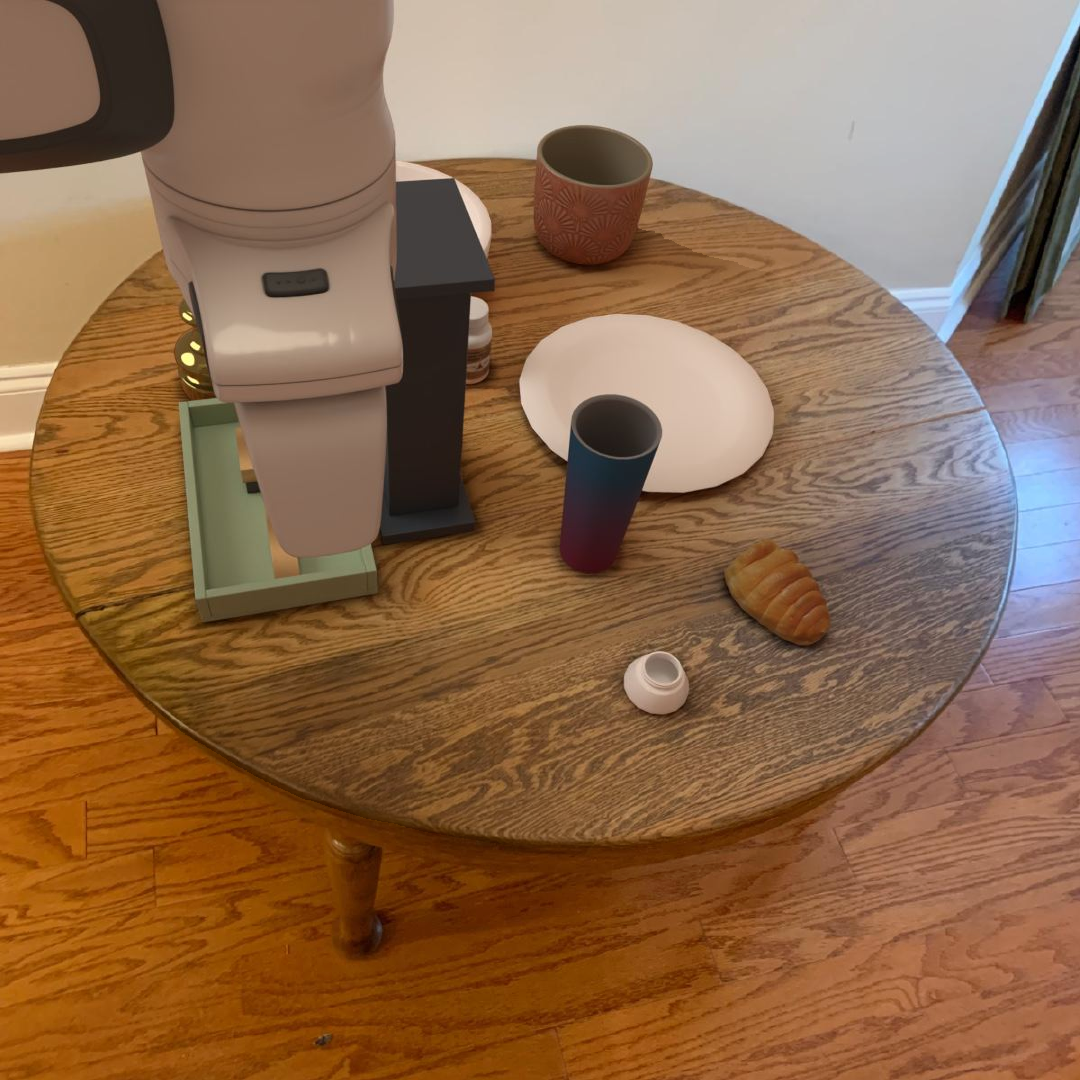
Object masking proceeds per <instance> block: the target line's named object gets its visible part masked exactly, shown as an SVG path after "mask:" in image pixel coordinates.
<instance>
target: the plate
mask: <svg viewBox="0 0 1080 1080" xmlns="http://www.w3.org/2000/svg"><path fill="white" fill-rule="evenodd" d="M518 383H519V392H520V393H519V397H520V406H521V408H522V410H523V413H524V415H525V417H526V419H527V421H528V424H529V426H530V428H531V430H532V431H533V432H534V433H535V434H536V435H537V437H538V438H539V440H541V441H542V443H544V445H545V446H546V447H547V448H548V450H549V451H550V452H551V453H552V454H554V455H555V456H557V457H558V458H560V459H561V460H562V461H564V462H565V463H567V460H568V450H569V439H570V428H571V419H572V415H573V412H574V410H575V409H576V408H577V406H578V405H579V404H581V403H582V402H583V401H585V400H587V399H589V398H591V397H594V396H598V395H605V394H616V395H622V396H627V397H630V398H633V399H635V400H637V401H640V402H641V403H643V404H645V405H646V406H648V407H649V408H650V409H651V410H652V411H653V412H654V413H655V414H656V416H657V417H658V419H659V421H660V423H661V427H662V438H661V441H660V444H659V446H658V449H657V452H656V454H655V457H654V460H653V462H652V465H651V468H650V470H649V473H648V476H647V478H646V481H645V484H644V486H643V489H642V492H641V493H646V494H670V495H671V494H672V495H673V494H674V495H675V494H676V495H677V494H678V495H679V494H680V495H684V494H689V493H694V492H701V491H705V490H709V489H715V488H718V487H720V486H722V485H725V484H726V483H729V482H731V481H732V480H735V479H737V478H739V477H741V476H744V474H746V472H747V471H748V470H750V468H752V467H753V466H754V465H755V464H756V463H758V461H759V460H761V458H763V455H764V454H765V452H766V449H767V448H768V445H769V443H770V442H771V439H772V437H773V436H774V435H773V434H774V421H775V410H774V407H773V403H772V400H771V396H770V393H769V390H768V388H767V386H766V385H765V383H764V382H763V380H762V378H760V376H759V374H758V373H757V371H756V370H755V368H754V367H753V366H752V365H751V364H750V363H748V361H747V360H745V359H744V357H742V356H741V355H740V354H739V353H738V352H737V351H736V350H735V349H733V347H730V346H729V345H727V344H725V342H722V341H721V340H719V339H718V338H716V337H714V336H713V335H711V334H710V333H707V332H705V331H703V330H700V329H698V328H695V327H693V326H690V325H687V324H685V323H682V322H680V321H676V320H672V319H667V318H663V317H658V316H653V315H648V314H628V313H613V314H612V313H611V314H606V315H598V316H591V317H586V318H583V319H580V320H576V321H574V322H571V323H569V324H566V325H563V326H561V327H559V328H558V329H556V330H555V331H553V332H552V333H549V335H547V336H545V337H544V338H542V339H541V340H540V341H539V342H538V344H537V345H536V346H535V347H534V348H533V350H532V351H531V352H530V353H529V354H528V356H527V357H526V358H525V361H524V365H523V368H522V371H521V374H520V377H519V379H518Z"/></svg>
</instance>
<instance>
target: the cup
mask: <svg viewBox="0 0 1080 1080" xmlns="http://www.w3.org/2000/svg"><path fill="white" fill-rule="evenodd" d="M661 438H662V427H661V423H660V421H659V419H658V417H657V416H656V414H655V413H654V412H653V411H652V410H651V409H650V408H649V407H648V406H646V405H645V404H643V403H641V402H640V401H637V400H635V399H633V398H630V397H627V396H622V395H616V394H605V395H598V396H594V397H591V398H589V399H587V400H585V401H583V402H582V403H581V404H579V405H578V406H577V408H576V409H575V410H574V412H573V415H572V419H571V428H570V439H569V450H568V460H567V462H566V472H565V483H564V494H563V505H562V516H561V526H560V535H559V537H560V538H559V548H558V549H559V554H560V557H561V559H562V560H563V562H564V563H565V564H566V565H568V567H570V568H571V569H573V570H575V571H576V572H580V573H583V574H589V575H593V574H594V575H595V574H600V573H604V572H606V571H607V570H609V569H611V567H613V566H614V564H615V562H616V561H617V558H618V555H619V553H620V551H621V547H622V545H623V543H624V540H625V537H626V534H627V532H628V530H629V527H630V524H631V521H632V518H633V515H634V512H635V510H636V508H637V505H638V502H639V499H640V497H641V495H642V493H643V492H642V489H643V486H644V484H645V481H646V478H647V476H648V473H649V470H650V468H651V465H652V462H653V460H654V457H655V454H656V452H657V449H658V446H659V444H660V441H661Z"/></svg>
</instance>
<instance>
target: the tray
mask: <svg viewBox="0 0 1080 1080" xmlns="http://www.w3.org/2000/svg"><path fill="white" fill-rule="evenodd" d="M178 413H179V414H178V415H179V426H180V437H181V448H182V449H181V450H182V462H183V471H184V481H185V495H186V496H185V497H186V506H187V507H186V509H187V518H188V530H189V541H190V542H189V544H190V553H191V554H190V555H191V564H192V576H193V577H192V578H193V588H194V599H195V603H196V606H197V609H198V613H199V616H200V620H201V623H208V622H215V621H221V620H227V619H234V618H238V617H244V616H250V615H251V616H252V615H255V614H262V613H268V612H274V611H275V612H276V611H279V610H280V611H281V610H286V609H292V608H298V607H299V608H300V607H304V606H311V605H315V604H316V605H317V604H322V603H328V602H329V603H330V602H335V601H341V600H345V599H346V600H347V599H351V598H358V597H365V596H371V595H376V594H379V587H378V586H379V584H378V582H379V581H378V568H377V564H376V559H375V555H374V551H373V546H372V543H371V544H370V545H368V546H366V547H364V548H361V549H358V550H355V551H351V552H346V553H341V554H336V555H329V556H320V557H310V558H298V561H299V567H300V574H301V575H297V576H291V577H284V578H278V579H274V571H273V564H272V556H271V549H270V542H269V534H268V527H267V519H266V512H265V504H264V500H263V497H262V494H261V492H257V493H249V494H248V493H247V488H246V483H243V481H242V476H241V471H240V462H239V454H238V445H237V437H236V428H241V426H240V423H239V419H238V416H237V412H236V408H235V405H234V403H224V402H221V401H220V400H218V398H212V399H203V400H195V401H193V400H188V401H186V400H185V401H179V402H178Z"/></svg>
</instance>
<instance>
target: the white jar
mask: <svg viewBox="0 0 1080 1080" xmlns="http://www.w3.org/2000/svg"><path fill="white" fill-rule="evenodd" d="M689 682H690V681H689V678H688V676H687V674H686V672H685V669H684V667H683V666H682V664H681V662H680V660H679V659H678V658H677V657H676V656H675V655H673V654H672V653H670V652H667V651H663V650H659V651H658V650H656V651H652V652H651V653H647V654H644V655H642V656H639V657H637V658H636V659H635V660H633V661H632V662H631V663H629V664H628V667H627V668H626V671H625V673H624V676H623V689H624V691H625V693H626V695H627V697H628V700H630V701H631V702H632V703H633V705H635V706H636V707H637V708H638V709H640V710H641V711H645V712H647V713H649V714H652V715H653V714H655V715H667V714H670V713H673V712H674V713H675V712H676V711H678V710H679V709H680V708H681V707H682V706H683V705H684V704H685V703H686V700H687V698H688V695H689V693H690V683H689Z"/></svg>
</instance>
